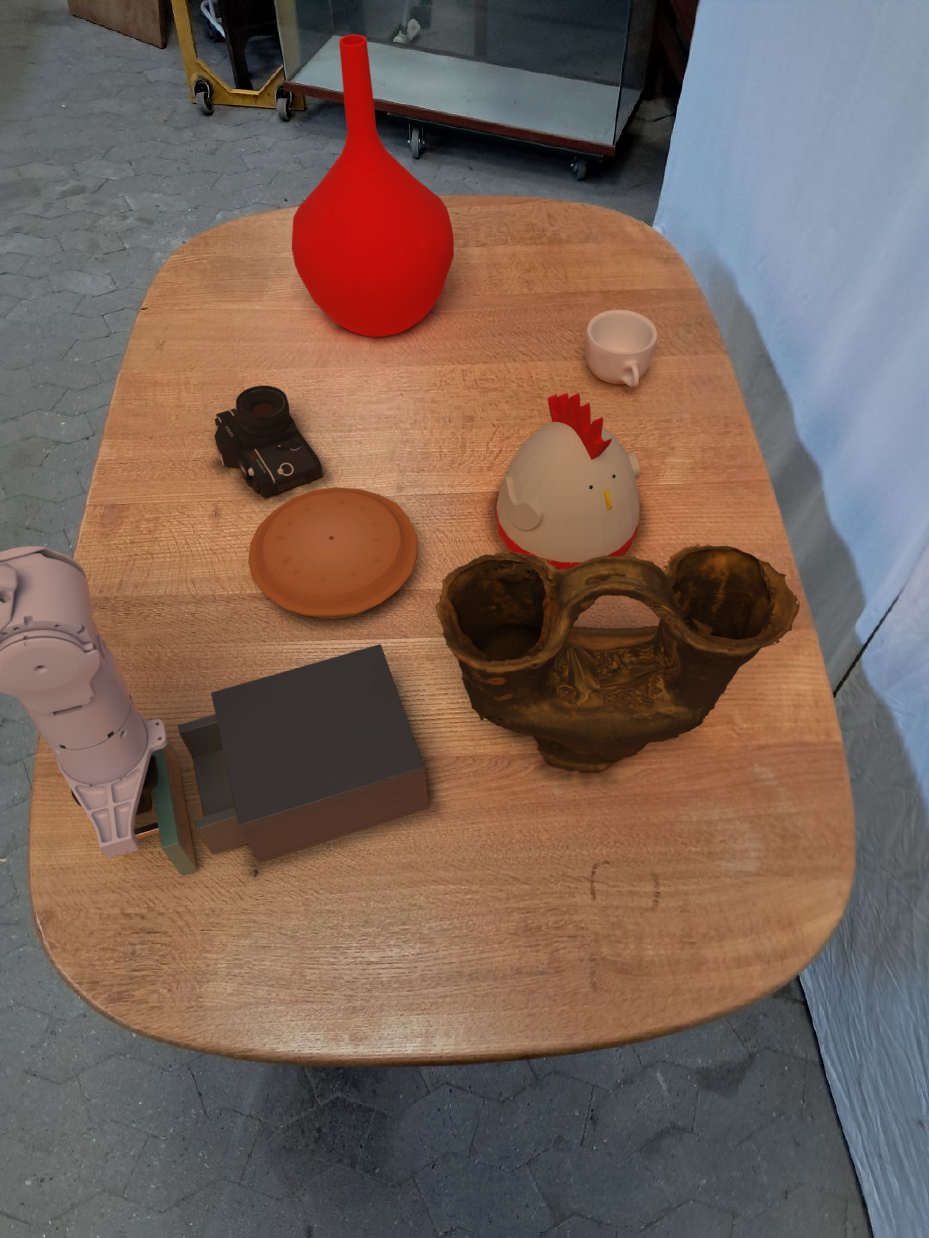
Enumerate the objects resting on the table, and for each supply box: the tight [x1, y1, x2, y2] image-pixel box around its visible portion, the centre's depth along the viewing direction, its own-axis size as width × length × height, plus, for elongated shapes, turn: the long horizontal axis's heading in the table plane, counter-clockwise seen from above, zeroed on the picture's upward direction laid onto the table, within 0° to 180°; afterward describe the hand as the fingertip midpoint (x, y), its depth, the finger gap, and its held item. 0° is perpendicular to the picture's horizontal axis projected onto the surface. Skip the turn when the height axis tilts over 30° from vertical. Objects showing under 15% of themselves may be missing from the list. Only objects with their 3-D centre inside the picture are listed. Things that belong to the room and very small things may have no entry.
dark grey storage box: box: [210, 643, 430, 864], centre depth 71 cm, size 14×12×7 cm
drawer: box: [134, 713, 249, 876], centre depth 69 cm, size 17×10×5 cm, turn 109°
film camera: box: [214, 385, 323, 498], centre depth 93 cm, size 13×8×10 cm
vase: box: [291, 34, 455, 338], centre depth 98 cm, size 18×18×30 cm
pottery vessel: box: [434, 543, 801, 774], centre depth 68 cm, size 25×11×20 cm, turn 92°
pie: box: [248, 486, 419, 620], centre depth 84 cm, size 15×16×5 cm
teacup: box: [584, 309, 658, 388], centre depth 100 cm, size 10×8×5 cm
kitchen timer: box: [495, 392, 642, 570], centre depth 83 cm, size 14×14×15 cm
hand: (136, 806), depth 68 cm, fingers closed, pressing on drawer
